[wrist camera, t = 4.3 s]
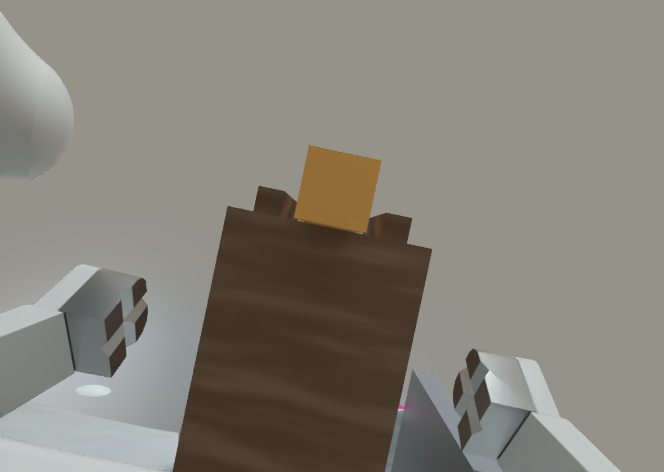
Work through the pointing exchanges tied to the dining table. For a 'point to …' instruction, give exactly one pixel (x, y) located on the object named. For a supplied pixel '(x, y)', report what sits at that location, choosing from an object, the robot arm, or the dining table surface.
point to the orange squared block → (337, 190)
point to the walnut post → (302, 344)
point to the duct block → (433, 432)
